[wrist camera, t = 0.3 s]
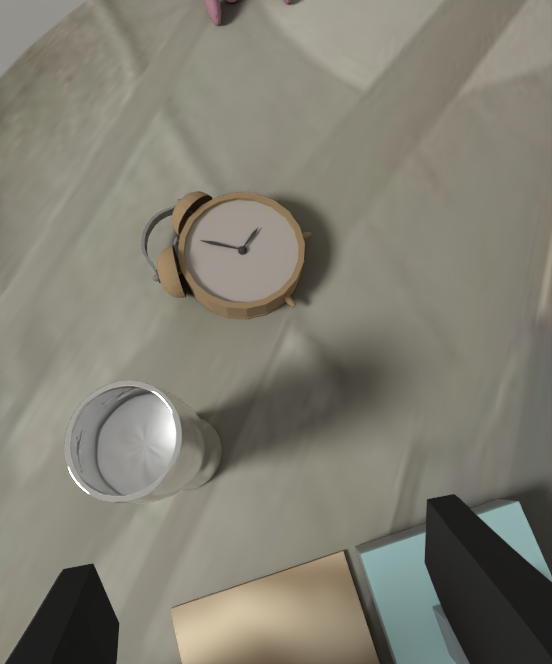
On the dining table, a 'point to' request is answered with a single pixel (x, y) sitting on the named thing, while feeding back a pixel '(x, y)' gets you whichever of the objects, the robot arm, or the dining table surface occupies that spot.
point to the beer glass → (138, 444)
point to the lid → (432, 589)
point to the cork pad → (279, 620)
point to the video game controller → (215, 9)
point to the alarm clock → (231, 253)
